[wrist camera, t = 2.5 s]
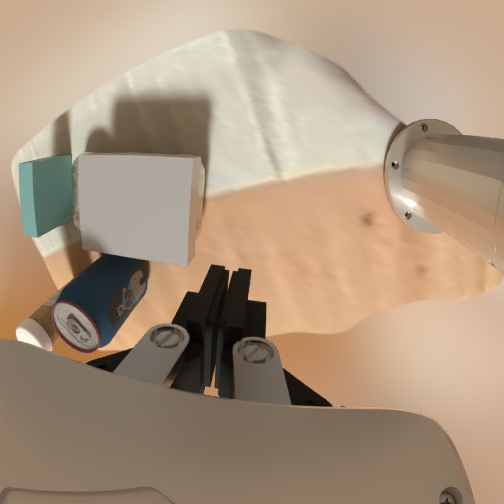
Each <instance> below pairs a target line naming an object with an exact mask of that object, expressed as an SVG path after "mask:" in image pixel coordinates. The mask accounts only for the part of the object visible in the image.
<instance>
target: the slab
mask: <svg viewBox="0 0 504 504" xmlns="http://www.w3.org/2000/svg"><path fill="white" fill-rule="evenodd" d="M200 166H201V156H188V155H172V154H150V153H90V154H84V155H79V158H78V190H79V214H80V228H81V240H82V249H84V250H89V251H95V252H101V253H107V254H112V255H118V256H124V257H130V258H136V259H142V260H149V261H155V262H161V263H167V264H174V265H180V266H188V265H189V263H190V262H191V260H192V258H193V257H194V255H195V237H196V219H197V204H198V190H199V178H200Z"/></svg>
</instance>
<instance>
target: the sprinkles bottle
mask: <svg viewBox="0 0 504 504" xmlns="http://www.w3.org/2000/svg"><path fill="white" fill-rule="evenodd" d="M78 275H79V274H77V275H76V276H75V277H74V278H76V277H77V276H78ZM74 278H73V279H74ZM73 279H72V280H73ZM72 280H71V281H72ZM71 281H70V282H71ZM70 282H69V283H70ZM69 283H67V284H69ZM67 284H66V285H67ZM66 285H64V286H63V287H62V288H61V289H60V290H58V291H57V292H56V293H55V294H54V295H53V296H52V297H51V298H49V299H48V300H47V301H46V302H45V303H44V304H43V305H42V306H41V307H40V308H39V309H38V310H37V311H36V312H35V313H34V314H32V315H31V316H30V317H28V318H26V319H25V320H23V321H22V322H21V323H20V325H19V326H18V327H17V328H16V335H17V338H18V341H23V342H26V343H29V344H33V345H35V346H38V347H41V348H43V349H46V350H49V351H52V348H53V346H54V344H55V343H56V342H57V341H58V340H59V339H60V338H61V337H60V336H59V334H58V333H57V331H56V330H55V328H54V325H53V322H52V319H51V310H52V307H53V306H54V304H55V302H56V298H57V295H58V293H59V292H60V291H61V290H62V289H63V288H64V287H65V286H66Z"/></svg>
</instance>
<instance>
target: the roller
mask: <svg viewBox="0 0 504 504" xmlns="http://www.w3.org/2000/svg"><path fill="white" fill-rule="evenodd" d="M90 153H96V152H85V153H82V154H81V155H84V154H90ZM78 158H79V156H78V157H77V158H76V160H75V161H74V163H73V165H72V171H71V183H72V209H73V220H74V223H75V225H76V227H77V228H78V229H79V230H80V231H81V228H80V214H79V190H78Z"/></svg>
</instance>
